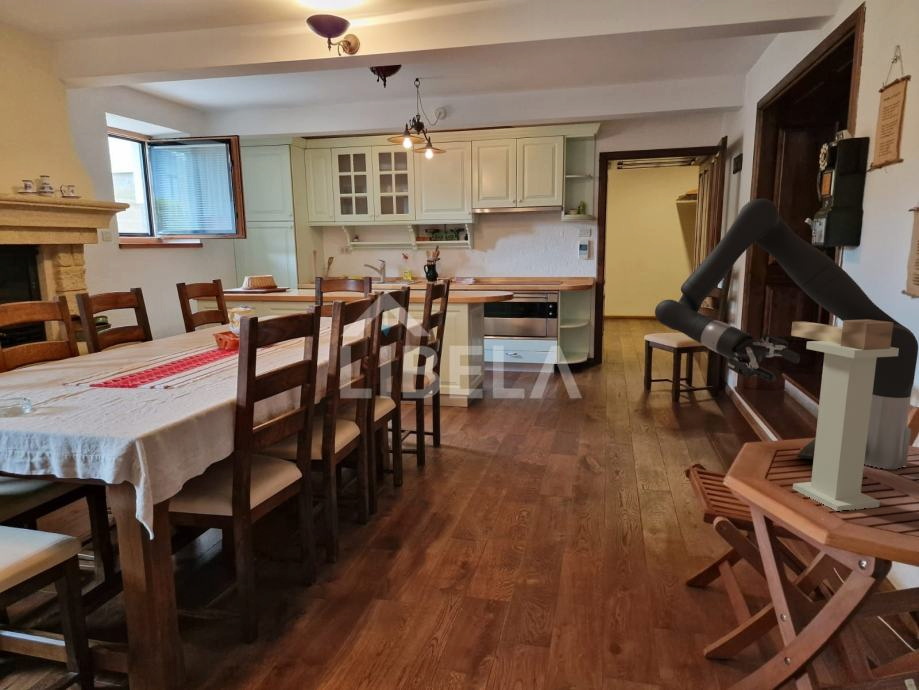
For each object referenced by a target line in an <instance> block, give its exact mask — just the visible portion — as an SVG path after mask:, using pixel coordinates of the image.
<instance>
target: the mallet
mask: <svg viewBox="0 0 919 690" xmlns="http://www.w3.org/2000/svg"><path fill="white" fill-rule="evenodd" d="M791 323H792V325H791V333H790V335H791V336H792V337H797V338H798V337H799V338H802V339H803V338H804V339H809V340H813V341H825V342H830V343H836V344H841V346H844V347H850V348H855V349H861V350H876V349H890V347H891V338H892V330H893V322H885V321H877V320H843V321H842V326H838V325H831V324H823V323H817V322H812V321H811V322H809V321H792V322H791Z"/></svg>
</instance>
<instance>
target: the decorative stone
mask: <svg viewBox="0 0 919 690" xmlns="http://www.w3.org/2000/svg"><path fill="white" fill-rule="evenodd" d="M815 441H816V438H814V439H812V440H811V441H809V442H808V443H807V444H806V445H805V446H804V447H802V449H801V450H800V451H798V454H797V455H796V457H797V458H799V459H807V460H814V451H815Z"/></svg>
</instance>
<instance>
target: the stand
mask: <svg viewBox="0 0 919 690" xmlns="http://www.w3.org/2000/svg"><path fill="white" fill-rule="evenodd" d="M805 347H806V350H811V351H816V352H821V353H824V355H823V366H822V374H821V382H820V383H821V385H820V394H819V401H818V402H819V404H818V413H817V422H816V423H817V424H816V433H815V439H816V441H815V451H814V460H813V461H812V462H813V463H812V471H811V472H812V473H811V481H806V482H795V483H793V484H792V490H794V491H796V492H797V493H800V494H801V495H803V494H804V495H803V496H805V497H807V498H809V497H810V499H811V500H813V499H814V500H813V501H815V500H816V501H815V502H817V501H818V502H817V503H819V502H820V503H819V504H821V503H822V504H821V505H823V504H824V505H823V506H824V507H826V506H828V507H830V508H832V509H834V510H836V511H840V512H843V511H842V510H849V511H856V510H865V509H864V508H866V509H874V508H879V507H880V502H881V501H880V500H879V499H876V498H873V497H872V496H869V495H867V494H866V493H863V492H862V483H863V476H864V474H863V473H864V469H865V468H864V467H865V465H864V460H865V452H866V443H867V435H868V426H869V418H870V409H871V401H872V392H873V384H874V376H875V367H876V359H877V357H892V356H898V352H899V348H894V347H890V349H876V350H861V349H855V348H850V347H844V346H841V344H836V343H830V342H825V341H819V340H813V341H806V346H805ZM828 507H827V508H828ZM830 508H829V509H830ZM832 509H831V510H832ZM855 509H856V510H855ZM834 510H833V511H834ZM836 511H835V512H836Z"/></svg>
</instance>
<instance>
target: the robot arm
mask: <svg viewBox="0 0 919 690" xmlns="http://www.w3.org/2000/svg"><path fill="white" fill-rule="evenodd" d="M754 243H755V244H757V245H758V246H759V247H761V248H762V249H763V250H765V252H767V253H768V254H770V256H771V257H772V258H773V259H775V260H776V263H778V264H779V266H780V267H781V268H782V269H783V270H784V271H785V273H786V274H787V275H788V276H789V277H790V279H791V280H792V281H793V282H794V283H795V284H796V285H797V286H798V287H799V288H800V289H801V290H802V291H803V292H804V293H805V294H806V295H807V296H808V297H809V298H810V299H812V300H813V301H814V302H815V303H816V304H818V305H819V306H820V307H822V308H823V309H824V310H826V312H828V313H830V314H832V315H833V316H835V317H836V318H837V319H839V320H840V321H842V322H843V320H877V321H885V322H893V330H892V338H891V347H894V348H899V352H898V356H892V357H877V359H876V367H875V376H874V384H873V392H872V401H871V409H870V418H869V426H868V435H867V443H866V452H865V460H864V464H865V465H864V466H867V465H869V466H868V467H870V466H873V467H872V468H875V467H877V468H876V469H880V468H883V469H882V470H899V469H898V468H900V467H903V466H906V467H907V465H908V457H909V450H910V449H909V448H910V443H911V442H910V441H911V433H912V429H911V428H910V427H909V426H908V421H909V413H910V405H911V399H912V398H911V397H912V393H913V392H912V391H913V387H914V382H915V376H916V369H917V362H918V354H919V342H918V340H917V338H916V336H915V334H914V333H913V332H912V331H911V330H910V329H909V328H908V327H906V326H905V325H903V324H902V323H900V322H899V321H897V320H896V319H895V318H893V317H892V316H890V315H889V314H888V313H886V312H885V311H884V310H882V309H881V308H880V307H879V306H877V304H876V303H874V301H872V300H871V298H870V297H869V295H867V294H866V293H865V291H864V290H863V289H862V287H861V286H859V284H858V282H856V281H855V280H854V279H853V278H852V277H851V276H850V275H849V274H848V273H847V271H845V269H843V268H842V267H841V266H840V265H839V264H837V262H836V261H834V260H833V259H832V258H831V257H830V256H828V255H827V254H825V253H824V252H823V251H822V250H820V249H819V248H817V247H815V246H813V244H810V243H809V242H807V241H805V240H804V239H803V238H801V237H800V236H799V235H797V234H796V233H795V232H794V231H793V230H792V229H791V228H790V227H789V225H788V224H787V223H786V222H785V221H784V220H783V219H782V217H781V216H780V211H779V209H778V207H777V205H776V204H775V203H774V202H773V201H771V200H769V199H767V198H756V199H752V200H750V201H748V202H747V203H745V204H744V206H742V207H741V209H740V211H739V213H738V215H737V216H736V218H735V220H733V223H732V224H731V225H730V227H729V229H728V230H727V232H726V233H725V234H724V236H723V237H722V238H721V240H720V241H719V243H718V244H717V245H716V246H715V247H714V248H713V250H712V251H711V252H710V253H709V254H708V255H707V256H706V257H705V258H704V259H703V261H702V262H701V263H700V264H699V265H698V266H697V267H696V268H695V269H694V271H693V272H692V273H691V274H690V275H689V276H688V277H687V278H686V280H684V282H683V283H682V285H681V287H680V291H681V294H682V295H681V297H680V299H679V300H678V301H677V300H674V299H664V300H662V301H660V302H659V303H658V304H657V305H656V306H655V310H654V316H655V318H656V320H657V321H658V322H659V323H660V324H662V325H664V327H665V326H666V327H667V328H669V329H671V330H673V331H677V332H680V333H681V334H684V335H685V336H687V337H688V338H690V339H692V340H693V341H695V342H696V343H699V344H700V345H703V346H704V347H706V348H708V349H709V350H711V351H713V352H715V353H717V354H719V355H721V356H722V357H725V358H727V368H728V369H729V370H730V371H733V372H735V373H736V374H738V375H740V376H741V377H743V378H745V379H750V378H751V377H752V376H753V377H759V378H761V379H763V380H765V381H768V382H774V381H776V375H777V374H776V373H775V372H773V371H771V370H769V369H767V368H764V367H762V366H759V364H760V363H761V361H763V360H765V359H767V358H772V357H774V356H775V357H781V358H783V359H784V360H787V361H789V362H791V363H794V364H795V365H796V364H799V362H800V360H801V356H800V354H799V353H798V352H796V351H793V350H790V349H789V348H788V345H789V341H787V340H785V339H783V338H780V337H778V336H776V335H772V334H771V333H767V332H765V333H763V335H762V337H761V338H760V339H756V338H753V337H752V335H751V334H750V333H748V332H746V331H743V330H741V329H740V328H738V327H735V326H733V325H731V324H728V323H726V322H723V321H719V320H717V319H714V318H713V317H710V316H708V315H706V314H703V313H700V311H699V310H700V309H701V307H702V305H703V303H704V301H705V300H706V299H707V298H708V297H709V296H710V295H711V294H712V293H713V291H714V290H715V289H716V288H717V287H718V285H719V284H721V282H722V281H723V279H724V278H725V277H726V275H728V273H729V271H730V270H731V269H732V268H733V266H734V264H736V262H737V261H738V259H740V257H741V256H742V255H743V254H744V253H745V252H746V251H747V250H748V249H749V248H750V246H751V245H753V244H754ZM768 349H769V351H768ZM900 469H901V468H900Z"/></svg>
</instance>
